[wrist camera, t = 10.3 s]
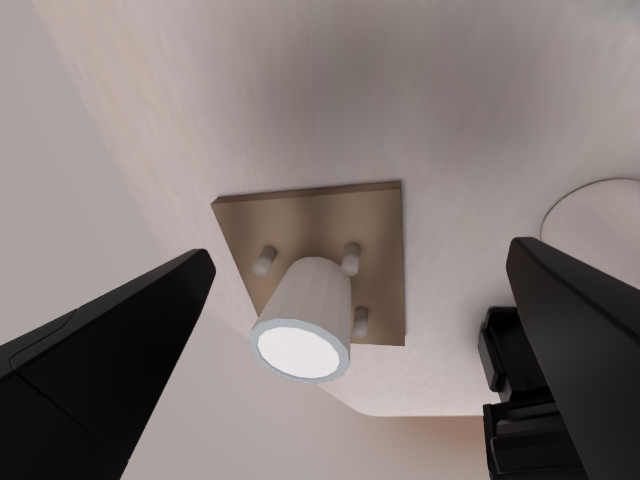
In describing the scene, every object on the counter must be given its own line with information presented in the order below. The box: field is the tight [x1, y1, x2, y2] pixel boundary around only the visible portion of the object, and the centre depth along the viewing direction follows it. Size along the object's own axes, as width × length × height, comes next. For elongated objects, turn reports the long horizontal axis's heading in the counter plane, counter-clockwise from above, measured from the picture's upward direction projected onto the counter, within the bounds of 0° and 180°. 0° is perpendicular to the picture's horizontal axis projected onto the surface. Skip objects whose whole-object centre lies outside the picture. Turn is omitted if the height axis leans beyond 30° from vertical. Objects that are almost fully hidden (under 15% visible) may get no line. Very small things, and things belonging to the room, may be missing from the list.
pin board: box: [210, 182, 405, 346], centre depth 24 cm, size 14×16×4 cm
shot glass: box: [248, 257, 351, 384], centre depth 22 cm, size 7×7×7 cm
